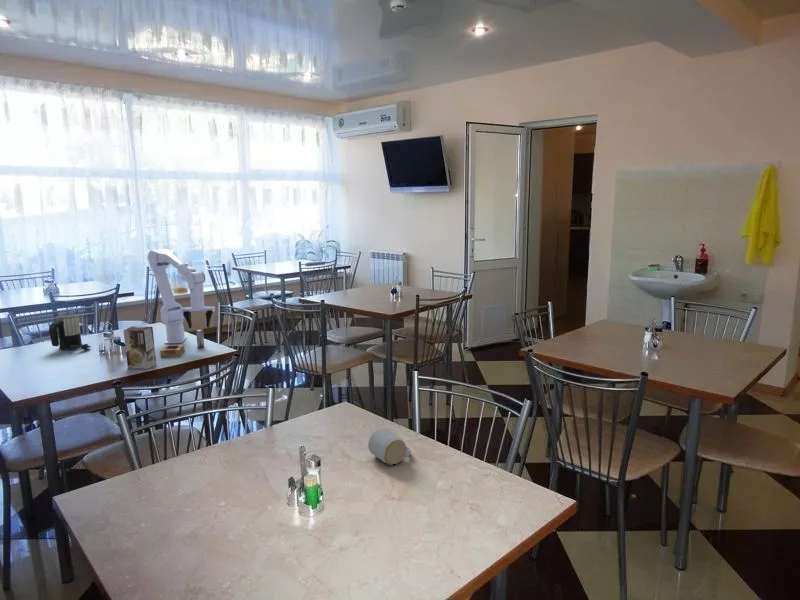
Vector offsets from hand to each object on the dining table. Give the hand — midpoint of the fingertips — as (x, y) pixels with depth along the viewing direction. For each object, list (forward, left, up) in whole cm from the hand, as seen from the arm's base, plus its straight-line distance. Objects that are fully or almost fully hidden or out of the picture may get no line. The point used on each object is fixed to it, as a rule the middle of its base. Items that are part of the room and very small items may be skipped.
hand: (199, 327), depth 242 cm
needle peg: (0, 0, -9) cm, 9 cm away
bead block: (+9, -10, -9) cm, 16 cm away
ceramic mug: (+117, +72, -10) cm, 137 cm away
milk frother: (-7, -56, -10) cm, 57 cm away
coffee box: (+25, -18, -10) cm, 32 cm away
